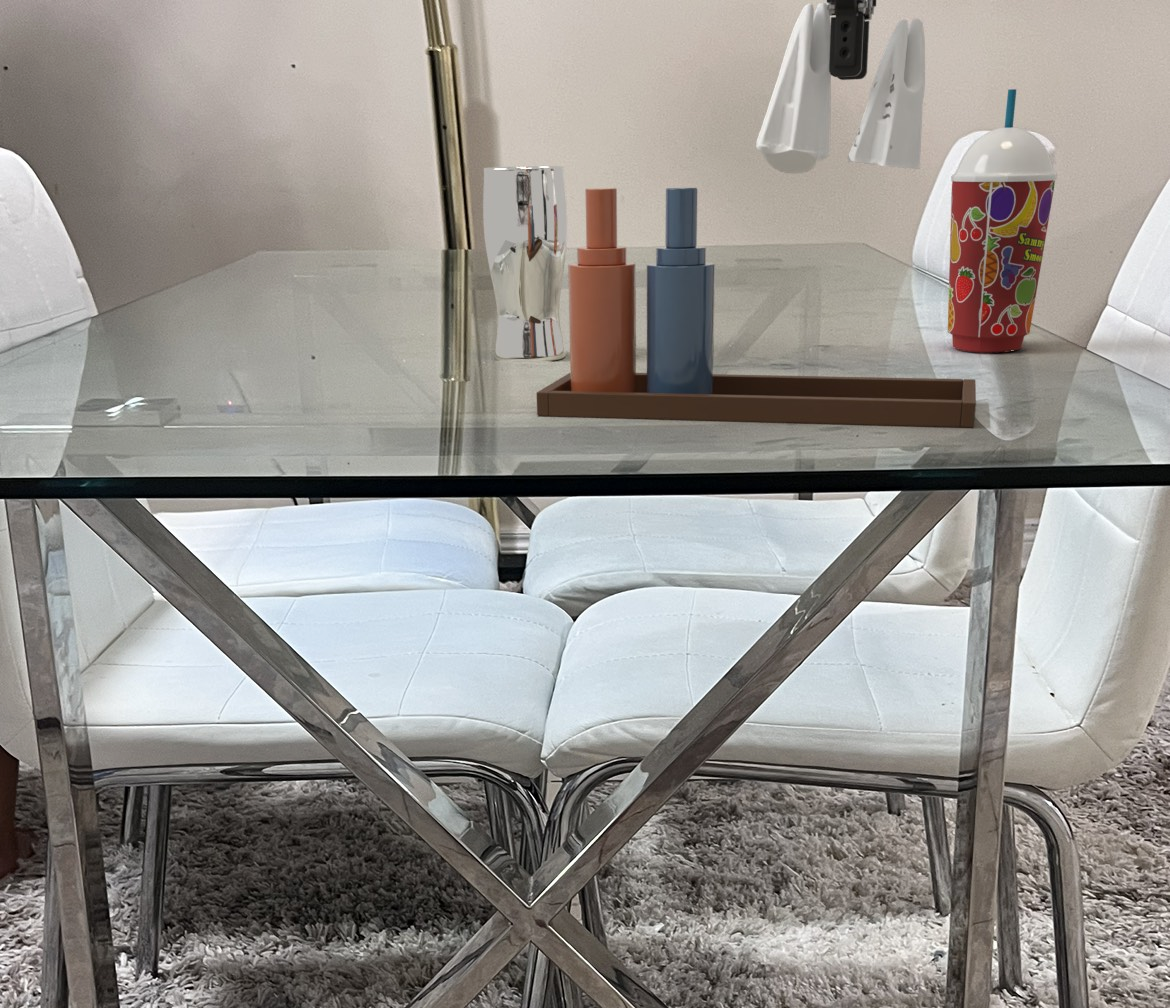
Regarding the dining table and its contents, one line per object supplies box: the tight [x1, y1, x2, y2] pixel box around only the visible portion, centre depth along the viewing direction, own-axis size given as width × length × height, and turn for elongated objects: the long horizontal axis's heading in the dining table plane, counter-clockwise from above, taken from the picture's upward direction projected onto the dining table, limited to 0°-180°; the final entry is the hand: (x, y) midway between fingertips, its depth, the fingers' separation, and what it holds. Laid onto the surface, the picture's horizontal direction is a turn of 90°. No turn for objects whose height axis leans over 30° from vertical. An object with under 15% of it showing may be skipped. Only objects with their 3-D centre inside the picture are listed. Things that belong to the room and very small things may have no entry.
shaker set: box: [755, 2, 926, 175], centre depth 101 cm, size 12×4×11 cm, turn 82°
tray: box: [536, 372, 977, 429], centre depth 92 cm, size 28×9×2 cm, turn 76°
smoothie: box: [947, 88, 1058, 354], centre depth 116 cm, size 8×8×20 cm
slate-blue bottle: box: [646, 186, 716, 394], centre depth 91 cm, size 4×4×14 cm
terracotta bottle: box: [567, 187, 637, 393], centre depth 92 cm, size 4×4×14 cm
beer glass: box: [482, 165, 568, 362], centre depth 117 cm, size 7×7×15 cm
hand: (848, 76), depth 100 cm, fingers closed on shaker set, 4 cm apart
